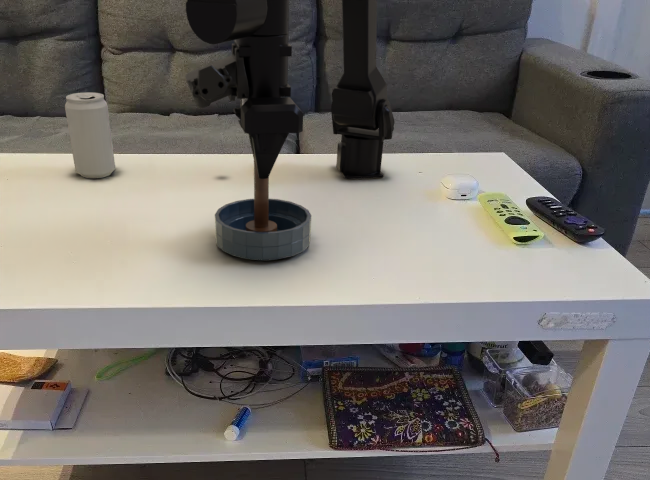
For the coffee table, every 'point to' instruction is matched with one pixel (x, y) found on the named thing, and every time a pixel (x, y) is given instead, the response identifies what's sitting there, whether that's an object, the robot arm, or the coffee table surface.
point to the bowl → (263, 244)
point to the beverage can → (90, 134)
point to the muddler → (261, 206)
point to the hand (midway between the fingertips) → (262, 175)
